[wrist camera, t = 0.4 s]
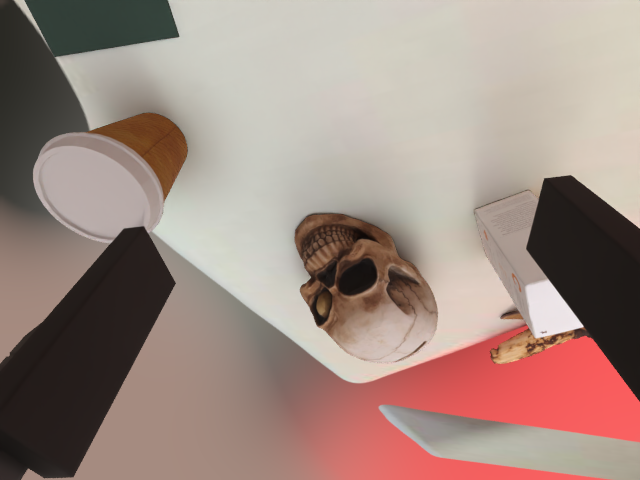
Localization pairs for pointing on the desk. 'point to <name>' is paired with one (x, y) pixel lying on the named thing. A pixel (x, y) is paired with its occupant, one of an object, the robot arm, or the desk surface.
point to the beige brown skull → (364, 289)
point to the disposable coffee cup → (111, 175)
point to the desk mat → (101, 23)
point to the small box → (522, 264)
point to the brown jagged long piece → (529, 342)
